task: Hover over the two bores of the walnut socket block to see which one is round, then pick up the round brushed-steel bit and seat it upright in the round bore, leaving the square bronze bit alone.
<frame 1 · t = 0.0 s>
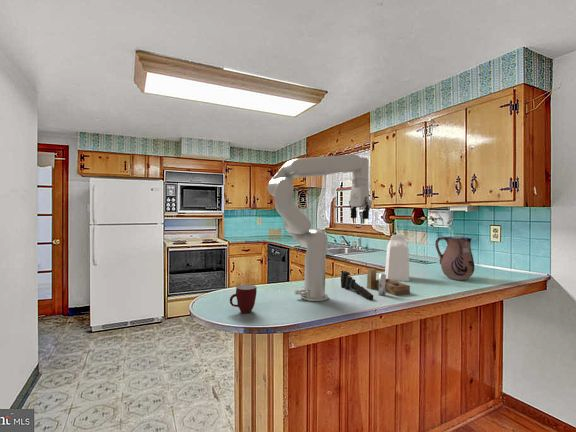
hand: (359, 218, 156), 37 cm above the worktop, tool pointing down, fingers open, 9 cm apart
mug: (243, 312, 127), on the worktop
milk: (396, 278, 190), on the worktop
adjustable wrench: (356, 294, 157), on the worktop
socket block: (391, 290, 163), on the worktop
round bit: (381, 295, 154), on the worktop
square bit: (371, 288, 166), on the worktop
ceramic pitcher: (453, 278, 192), on the worktop
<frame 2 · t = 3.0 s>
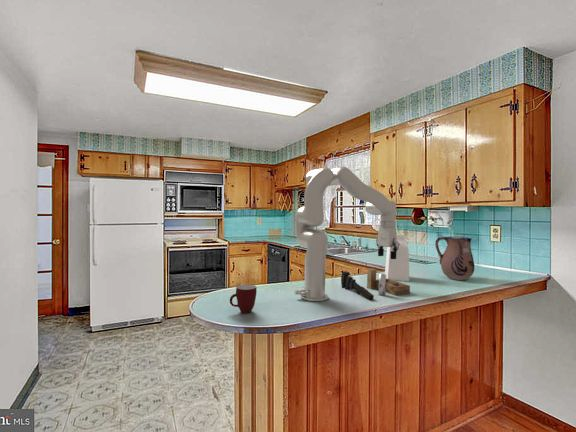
hand: (386, 257, 166), 16 cm above the worktop, tool pointing down, fingers open, 9 cm apart
nothing on the worktop moved.
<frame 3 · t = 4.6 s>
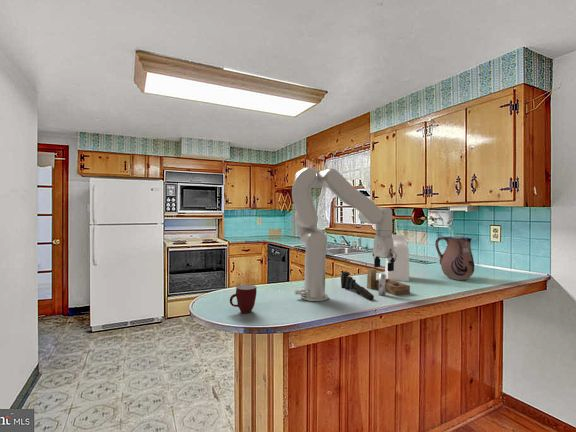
hand: (383, 268, 154), 13 cm above the worktop, tool pointing down, fingers open, 9 cm apart
nothing on the worktop moved.
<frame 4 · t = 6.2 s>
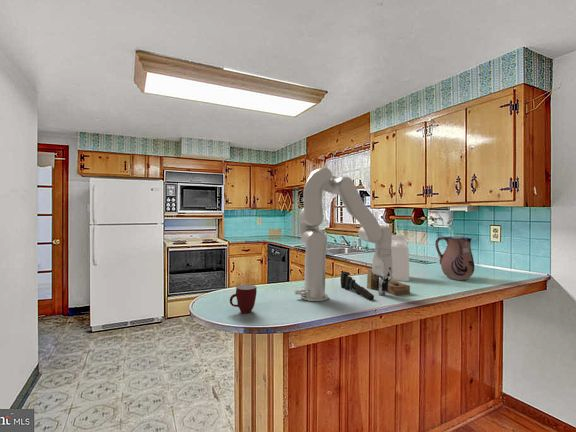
hand: (382, 289, 154), 3 cm above the worktop, tool pointing down, fingers closed on round bit, 3 cm apart
round bit: (381, 294, 154), on the worktop, touching gripper
everything else where it was.
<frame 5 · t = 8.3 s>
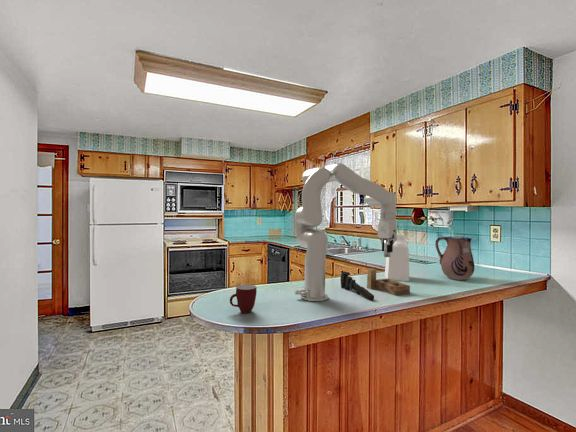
hand: (387, 251, 165), 20 cm above the worktop, tool pointing down, fingers closed on round bit, 3 cm apart
round bit: (387, 256, 165), point 17 cm above the worktop, touching gripper
everything else where it was.
when the fingers open (5 cm above the worktop, at t = 10.6 s): round bit drops 2 cm, resting in socket block.
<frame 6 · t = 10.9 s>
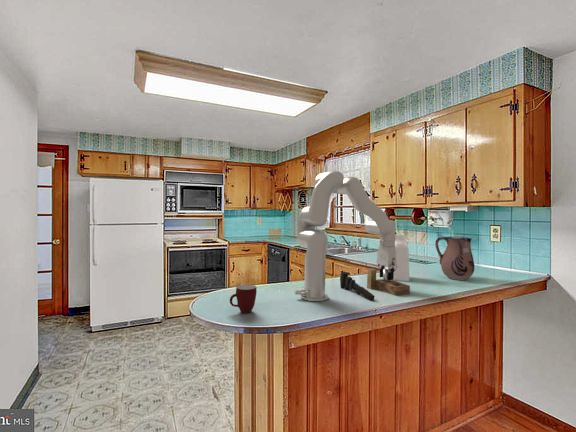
hand: (386, 278, 166), 6 cm above the worktop, tool pointing down, fingers open, 5 cm apart
round bit: (385, 288, 166), resting in socket block
everything else where it was.
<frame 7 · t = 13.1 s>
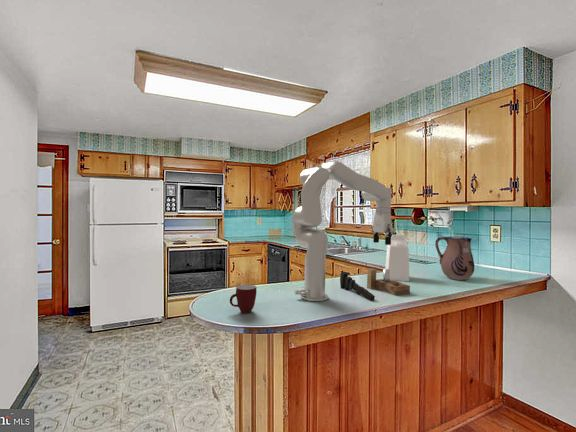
hand: (381, 243, 167), 23 cm above the worktop, tool pointing down, fingers open, 9 cm apart
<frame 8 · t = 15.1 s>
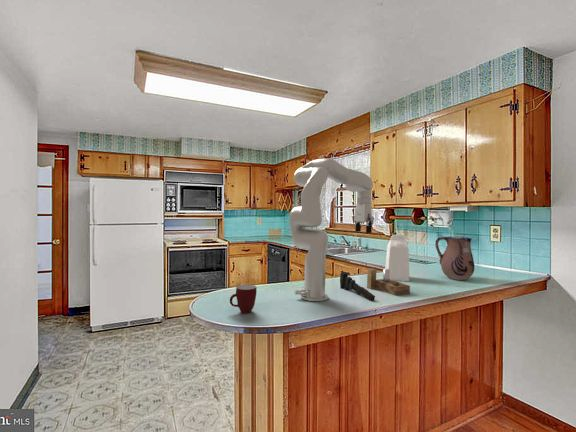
hand: (363, 232, 176), 28 cm above the worktop, tool pointing down, fingers open, 9 cm apart
at the end: round bit 0.1 cm from the target spot, resting in socket block; round bit tilted 0°; the gripper is holding nothing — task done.
